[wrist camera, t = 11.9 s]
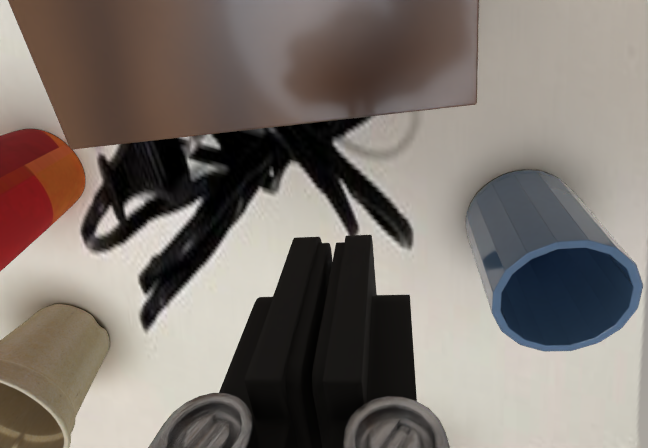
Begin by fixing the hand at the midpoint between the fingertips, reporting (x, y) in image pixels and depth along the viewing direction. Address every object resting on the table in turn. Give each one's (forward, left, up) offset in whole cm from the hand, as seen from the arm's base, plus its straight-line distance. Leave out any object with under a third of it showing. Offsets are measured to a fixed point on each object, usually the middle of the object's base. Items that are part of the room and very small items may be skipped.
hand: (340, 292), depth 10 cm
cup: (-9, +8, -18) cm, 21 cm away
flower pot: (+25, +16, -18) cm, 35 cm away
